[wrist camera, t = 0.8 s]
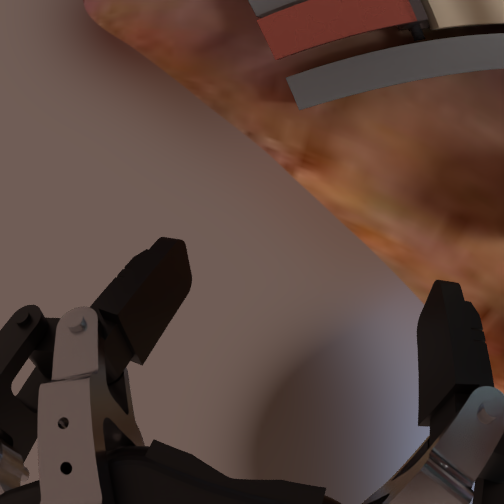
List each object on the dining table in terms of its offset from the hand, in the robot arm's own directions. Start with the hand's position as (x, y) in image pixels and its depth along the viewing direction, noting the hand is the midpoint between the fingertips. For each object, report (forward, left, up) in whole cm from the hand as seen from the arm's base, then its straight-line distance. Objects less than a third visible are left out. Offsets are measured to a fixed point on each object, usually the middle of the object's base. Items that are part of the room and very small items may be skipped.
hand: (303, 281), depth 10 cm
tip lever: (-9, -9, -22) cm, 25 cm away
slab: (-15, -9, -21) cm, 28 cm away
